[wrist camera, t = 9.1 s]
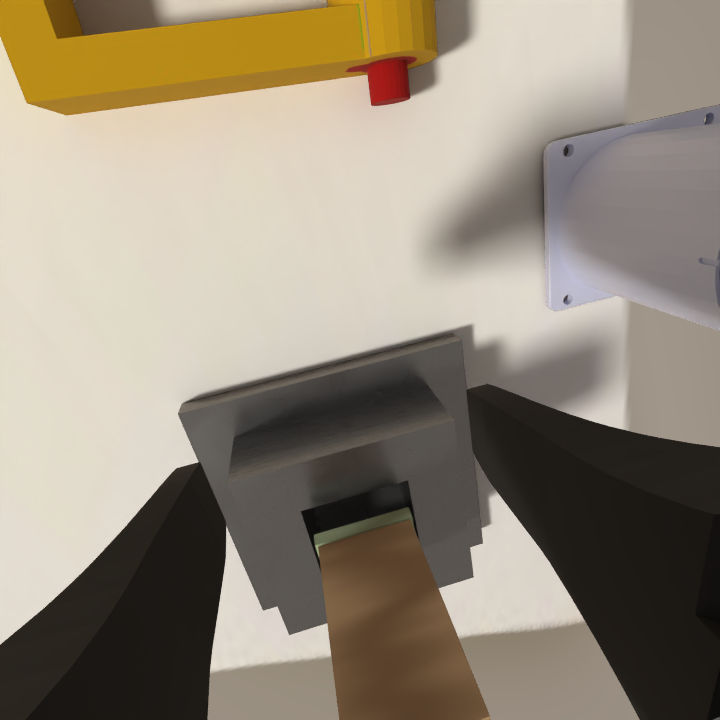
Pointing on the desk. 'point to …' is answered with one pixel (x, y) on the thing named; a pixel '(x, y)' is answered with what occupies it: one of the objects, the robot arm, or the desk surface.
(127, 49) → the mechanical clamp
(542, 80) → the desk surface
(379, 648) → the oak post
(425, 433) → the metal sleeve
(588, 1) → the desk surface
